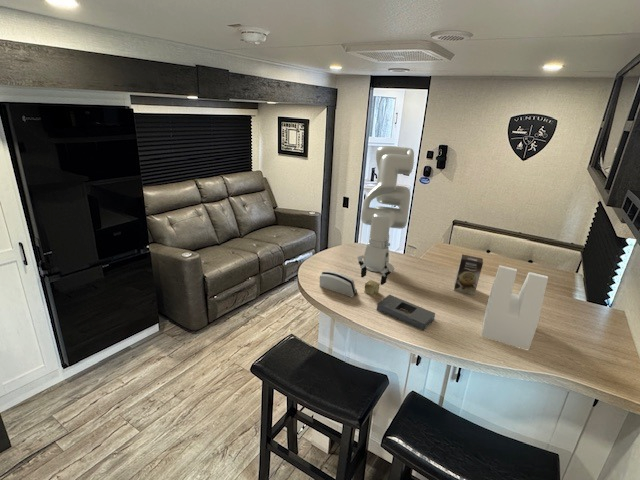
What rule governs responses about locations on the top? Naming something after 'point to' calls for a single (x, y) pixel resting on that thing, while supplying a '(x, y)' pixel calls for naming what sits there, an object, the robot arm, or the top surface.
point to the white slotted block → (514, 308)
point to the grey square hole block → (417, 318)
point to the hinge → (337, 283)
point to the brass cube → (371, 287)
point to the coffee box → (468, 274)
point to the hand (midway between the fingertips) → (373, 280)
